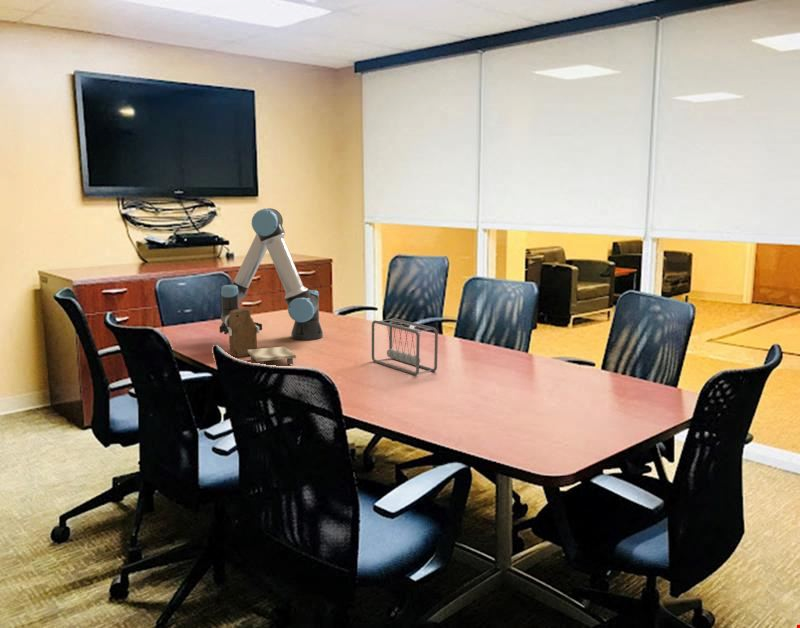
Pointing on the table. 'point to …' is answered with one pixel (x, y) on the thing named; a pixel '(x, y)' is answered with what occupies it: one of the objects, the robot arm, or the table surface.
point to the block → (242, 332)
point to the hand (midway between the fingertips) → (244, 331)
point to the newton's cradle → (404, 356)
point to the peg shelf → (271, 354)
